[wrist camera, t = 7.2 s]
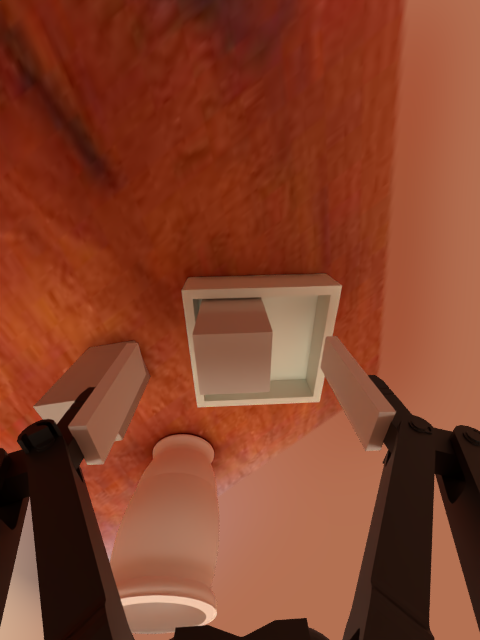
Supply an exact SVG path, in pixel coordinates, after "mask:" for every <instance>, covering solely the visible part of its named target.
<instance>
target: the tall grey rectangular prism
mask: <svg viewBox="0 0 480 640" xmlns="http://www.w3.org/2000/svg"><path fill="white" fill-rule="evenodd" d="M192 336H193V344H194V352H195V360H196V368H197V376H198V384H199V391H200V395H211V394H235V393H258V392H269V391H270V374H271V356H272V338H273V331H272V328H271V325H270V322H269V319H268V316H267V313H266V310H265V307H264V304H263V301H262V298H261V297H250V298H216V299H202V301H201V305H200V309H199V312H198V316H197V320H196V323H195V327H194V331H193V334H192Z"/></svg>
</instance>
